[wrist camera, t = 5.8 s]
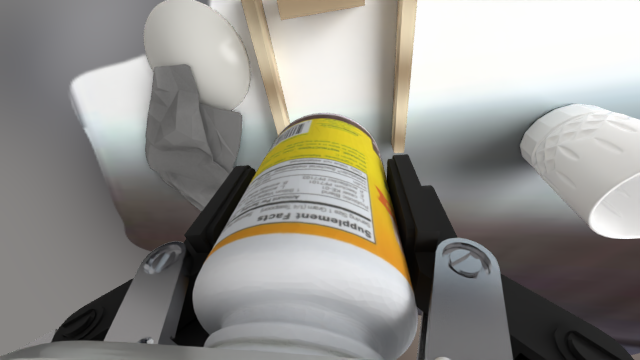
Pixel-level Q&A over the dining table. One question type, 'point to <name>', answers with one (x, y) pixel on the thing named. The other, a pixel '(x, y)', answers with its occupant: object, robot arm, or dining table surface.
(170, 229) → the dining table surface
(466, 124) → the dining table surface
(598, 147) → the white cup
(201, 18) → the coaster
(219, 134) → the cloth
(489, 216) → the dining table surface
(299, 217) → the supplement bottle
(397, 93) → the wooden slatted rack
